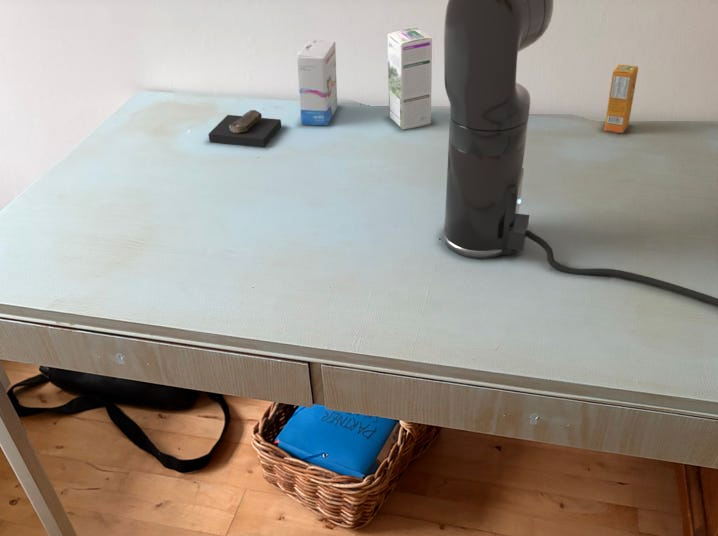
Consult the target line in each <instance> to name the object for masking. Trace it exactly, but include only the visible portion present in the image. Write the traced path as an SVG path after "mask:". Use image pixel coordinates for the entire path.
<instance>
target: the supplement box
mask: <svg viewBox="0 0 718 536" xmlns="http://www.w3.org/2000/svg"><path fill="white" fill-rule="evenodd" d="M638 72H639V66H637V65H629V64H618V65H617V66H616V67H615V69H614V70H613V71H612V75H611V81H610V89H609V96H608V102H607V109H606V114H605V120H604V121H605V122H604V128H603V130H604V132H609V133H616V134H624V132H625V131H626V129H627V128H628V126H629V124H630V118H631V112H632V107H633V101H634V95H635V90H636V84H637V78H638Z"/></svg>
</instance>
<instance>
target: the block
mask: <svg viewBox="0 0 718 536" xmlns="http://www.w3.org/2000/svg"><path fill="white" fill-rule="evenodd" d="M241 116H242V117H241V118H239V119H238V120H236V121H235V122H234V123H232V124H231V125H229V127H230V130H231V131H232V132H235V133H240V132H245V131H247V130H248V129H250V128H251V127H252V126H253V125H254V124H255V123H256V122H257V121H258V120H259V119H260V118H263V114H262V113H261V112H259V111H258V110H255V109H250V110H248V111H247V112H245V113H244V114H243V115H241Z"/></svg>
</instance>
